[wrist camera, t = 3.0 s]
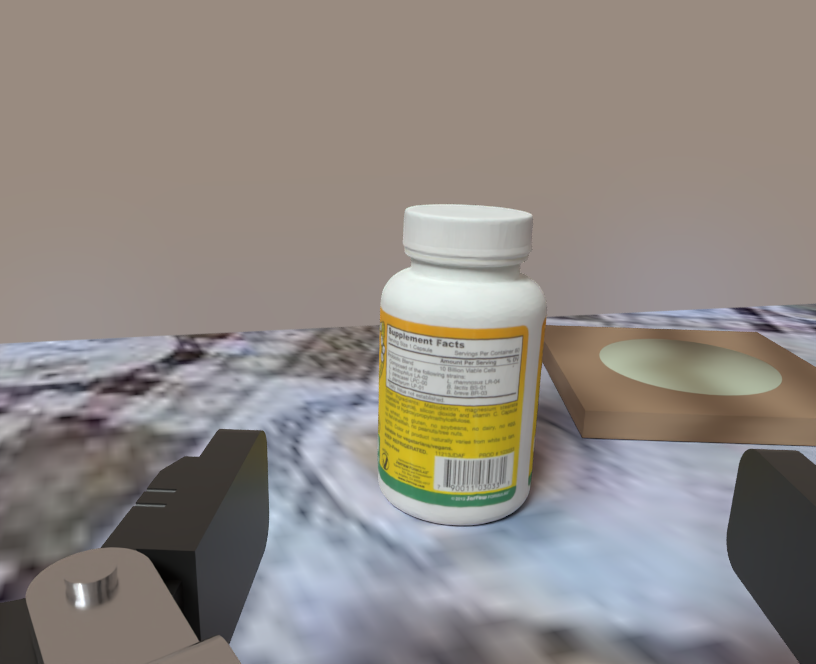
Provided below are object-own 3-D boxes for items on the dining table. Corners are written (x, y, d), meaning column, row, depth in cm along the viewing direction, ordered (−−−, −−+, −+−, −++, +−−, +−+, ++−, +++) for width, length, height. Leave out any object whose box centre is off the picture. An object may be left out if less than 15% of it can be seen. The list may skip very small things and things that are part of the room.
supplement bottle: (474, 551, 20) (495, 226, 18) (343, 491, 24) (344, 208, 21) (558, 484, 24) (585, 212, 22) (437, 440, 28) (447, 199, 25)
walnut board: (753, 351, 41) (757, 331, 40) (900, 448, 28) (908, 420, 28) (533, 344, 41) (535, 324, 40) (582, 437, 28) (585, 409, 28)
